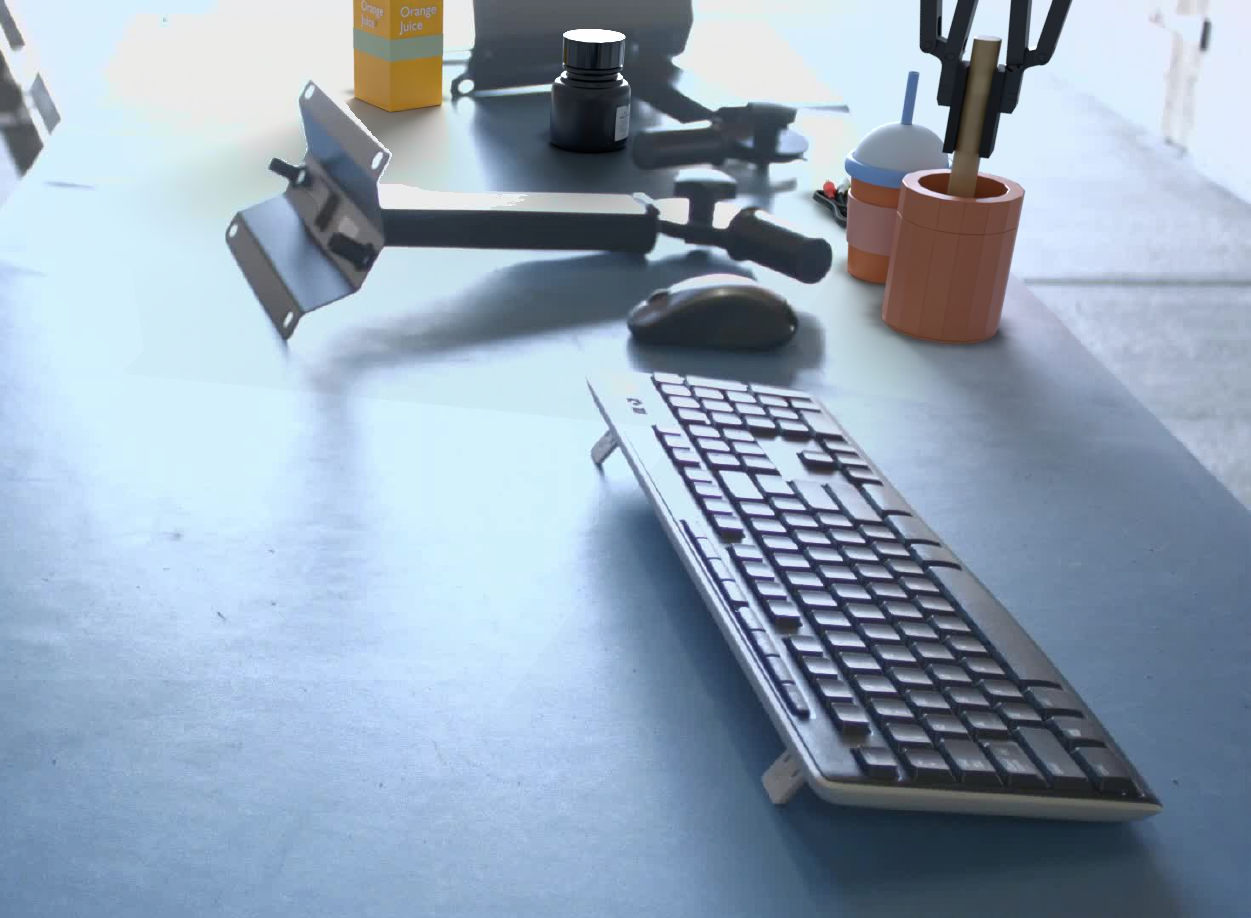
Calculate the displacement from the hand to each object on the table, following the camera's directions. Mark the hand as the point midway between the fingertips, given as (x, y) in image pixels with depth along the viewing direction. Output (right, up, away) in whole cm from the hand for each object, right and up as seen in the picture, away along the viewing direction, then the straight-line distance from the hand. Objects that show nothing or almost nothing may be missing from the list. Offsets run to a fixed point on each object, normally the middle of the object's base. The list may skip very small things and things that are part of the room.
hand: (968, 150), depth 117 cm
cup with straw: (-2, -8, +17) cm, 19 cm away
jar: (0, -13, +7) cm, 15 cm away
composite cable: (-1, +1, +34) cm, 34 cm away
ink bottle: (-24, +12, +56) cm, 62 cm away
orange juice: (-46, +21, +72) cm, 88 cm away
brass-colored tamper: (0, -8, +4) cm, 9 cm away
